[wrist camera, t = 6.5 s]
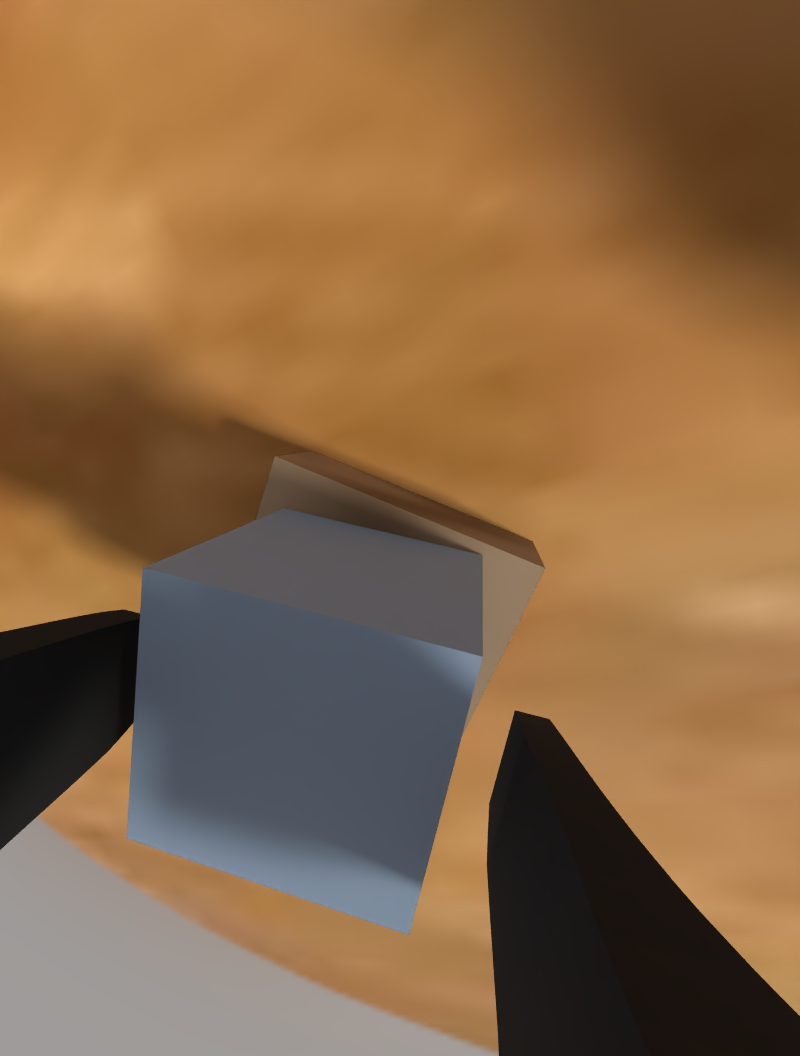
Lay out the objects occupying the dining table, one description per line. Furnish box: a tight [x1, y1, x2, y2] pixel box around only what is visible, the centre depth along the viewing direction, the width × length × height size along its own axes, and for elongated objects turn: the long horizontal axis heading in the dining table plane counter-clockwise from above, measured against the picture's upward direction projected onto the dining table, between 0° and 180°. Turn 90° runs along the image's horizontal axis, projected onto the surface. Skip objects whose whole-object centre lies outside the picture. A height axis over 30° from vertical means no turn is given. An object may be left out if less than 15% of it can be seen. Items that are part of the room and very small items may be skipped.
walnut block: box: [255, 451, 545, 735], centre depth 13 cm, size 7×7×3 cm
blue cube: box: [127, 508, 483, 935], centre depth 9 cm, size 5×5×5 cm
